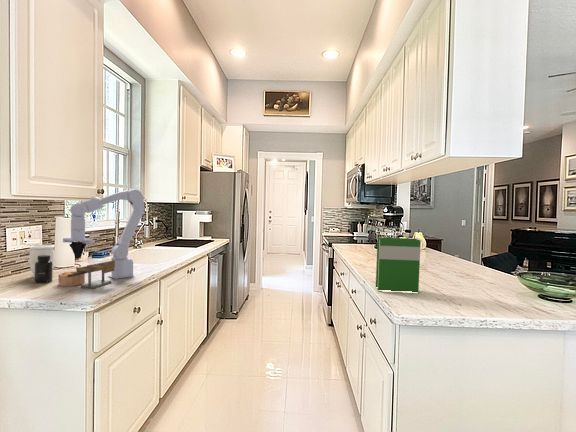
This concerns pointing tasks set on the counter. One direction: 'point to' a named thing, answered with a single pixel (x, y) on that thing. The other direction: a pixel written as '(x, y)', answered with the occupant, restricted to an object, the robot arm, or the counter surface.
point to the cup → (70, 279)
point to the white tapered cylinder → (40, 250)
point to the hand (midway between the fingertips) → (78, 258)
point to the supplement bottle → (43, 269)
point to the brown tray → (95, 268)
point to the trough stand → (95, 282)
